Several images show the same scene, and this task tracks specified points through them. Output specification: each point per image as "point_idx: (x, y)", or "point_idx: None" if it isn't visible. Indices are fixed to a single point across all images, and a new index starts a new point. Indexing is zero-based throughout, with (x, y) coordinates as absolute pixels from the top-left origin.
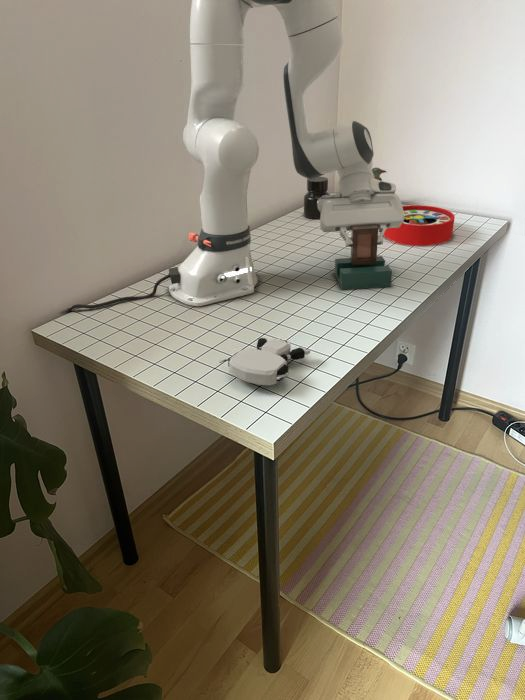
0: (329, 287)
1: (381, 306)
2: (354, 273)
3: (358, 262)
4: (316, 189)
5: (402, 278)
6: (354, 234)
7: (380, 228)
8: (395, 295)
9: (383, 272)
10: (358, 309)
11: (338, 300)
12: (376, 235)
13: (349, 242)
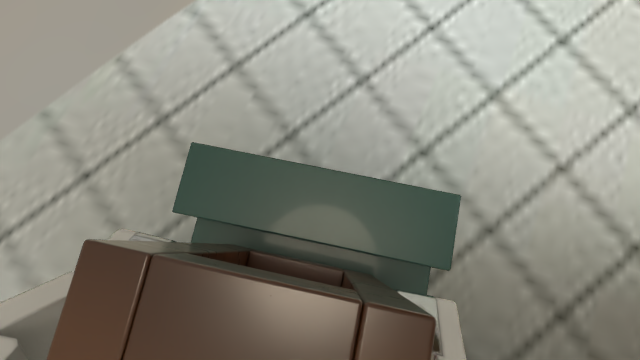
0: (478, 251)
1: (338, 17)
2: (391, 182)
3: (333, 267)
4: None
5: (125, 228)
6: (402, 301)
7: (21, 354)
8: (242, 83)
9: (236, 152)
10: (430, 20)
11: (480, 114)
12: (155, 242)
13: (432, 302)
